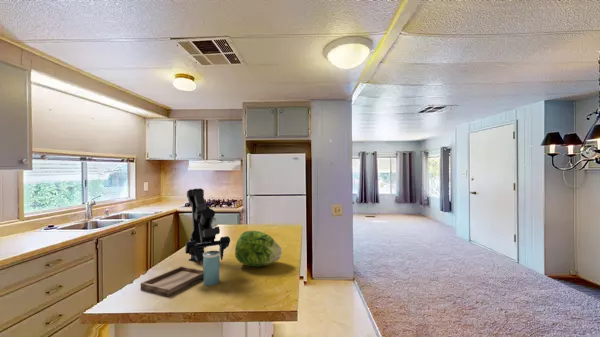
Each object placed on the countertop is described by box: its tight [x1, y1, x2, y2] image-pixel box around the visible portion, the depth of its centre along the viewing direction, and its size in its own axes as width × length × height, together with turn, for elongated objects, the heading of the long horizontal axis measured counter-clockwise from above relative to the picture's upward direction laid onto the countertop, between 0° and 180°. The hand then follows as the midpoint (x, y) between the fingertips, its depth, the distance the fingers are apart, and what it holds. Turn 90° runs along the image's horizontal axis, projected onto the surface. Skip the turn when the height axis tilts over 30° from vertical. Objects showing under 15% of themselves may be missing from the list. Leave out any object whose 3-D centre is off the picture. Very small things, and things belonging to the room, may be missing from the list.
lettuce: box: [234, 230, 282, 267], centre depth 128 cm, size 17×23×17 cm
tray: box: [140, 265, 203, 298], centre depth 108 cm, size 16×20×2 cm
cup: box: [202, 250, 221, 287], centre depth 108 cm, size 7×7×12 cm
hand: (211, 261), depth 108 cm, fingers open, 9 cm apart
